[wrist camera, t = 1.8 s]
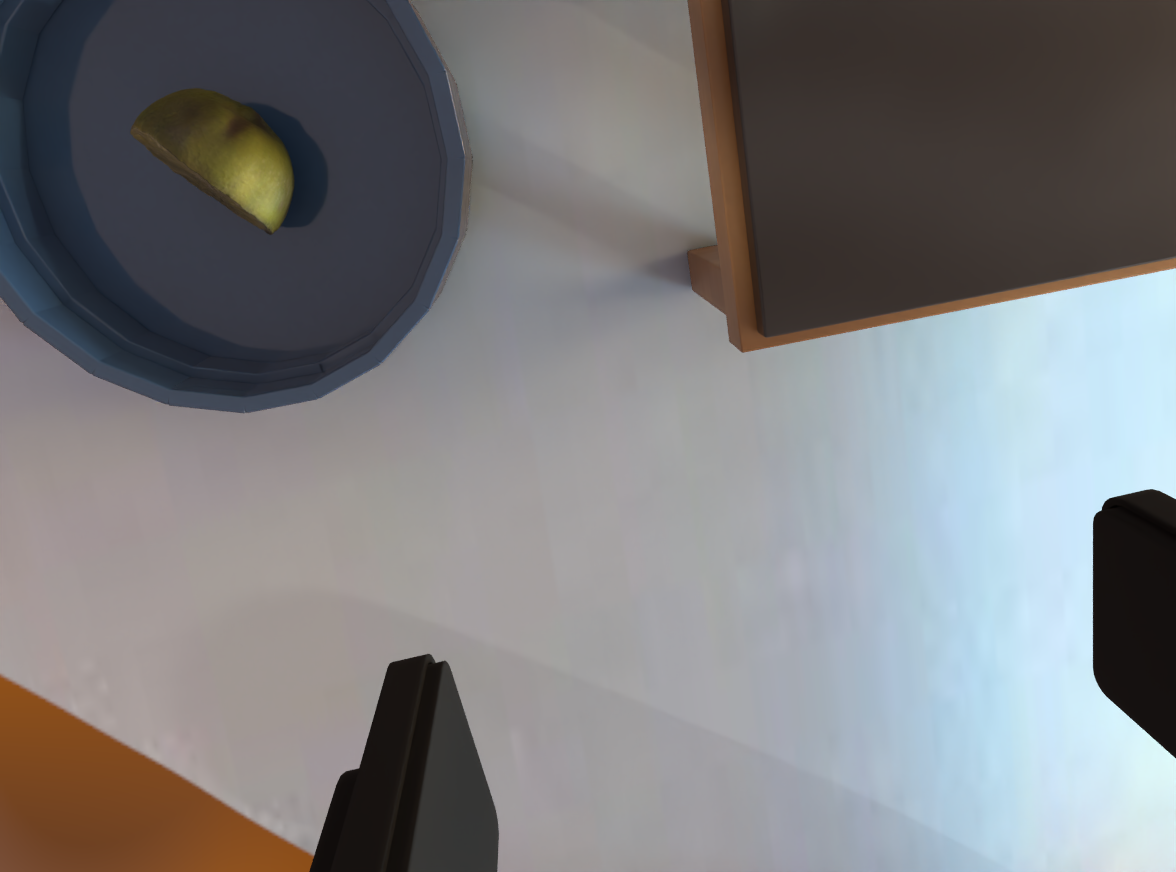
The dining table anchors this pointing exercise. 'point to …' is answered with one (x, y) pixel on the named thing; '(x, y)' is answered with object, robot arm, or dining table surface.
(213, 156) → the lime
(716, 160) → the stool
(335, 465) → the dining table surface
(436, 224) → the bowl
